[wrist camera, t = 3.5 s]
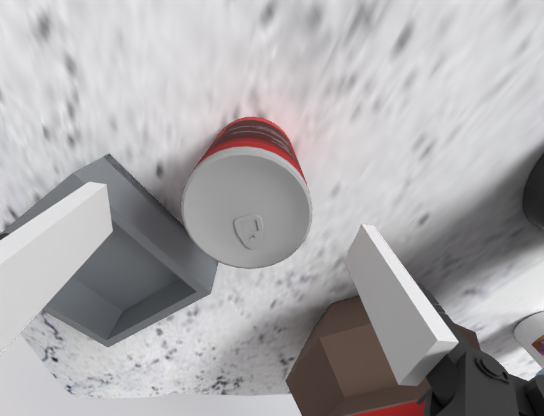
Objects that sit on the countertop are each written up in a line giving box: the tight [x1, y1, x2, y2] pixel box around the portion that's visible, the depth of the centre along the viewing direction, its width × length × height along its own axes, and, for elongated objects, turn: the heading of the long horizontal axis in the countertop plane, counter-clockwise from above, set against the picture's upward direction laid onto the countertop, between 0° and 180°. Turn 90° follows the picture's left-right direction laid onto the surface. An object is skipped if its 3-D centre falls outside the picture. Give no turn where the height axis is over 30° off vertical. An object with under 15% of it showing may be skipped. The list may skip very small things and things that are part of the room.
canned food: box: [181, 117, 312, 269], centre depth 19 cm, size 8×8×11 cm
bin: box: [1, 154, 218, 347], centre depth 26 cm, size 16×16×5 cm
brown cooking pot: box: [286, 296, 481, 416], centre depth 30 cm, size 24×24×16 cm
